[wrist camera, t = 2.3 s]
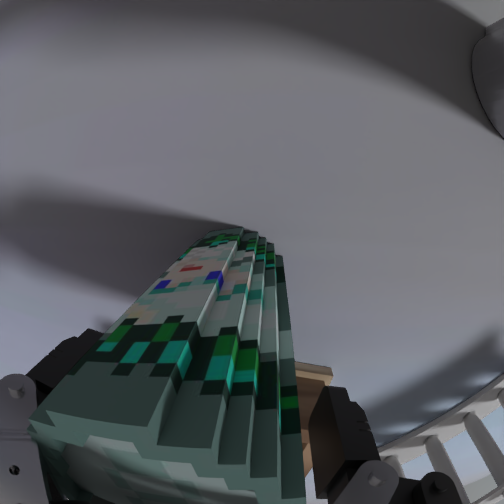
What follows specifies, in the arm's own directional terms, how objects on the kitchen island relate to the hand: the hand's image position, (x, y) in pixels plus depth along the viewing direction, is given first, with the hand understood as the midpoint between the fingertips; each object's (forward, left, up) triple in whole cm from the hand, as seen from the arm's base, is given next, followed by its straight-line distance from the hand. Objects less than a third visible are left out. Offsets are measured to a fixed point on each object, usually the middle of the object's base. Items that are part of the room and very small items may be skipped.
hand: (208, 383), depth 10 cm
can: (-1, 0, -9) cm, 9 cm away
